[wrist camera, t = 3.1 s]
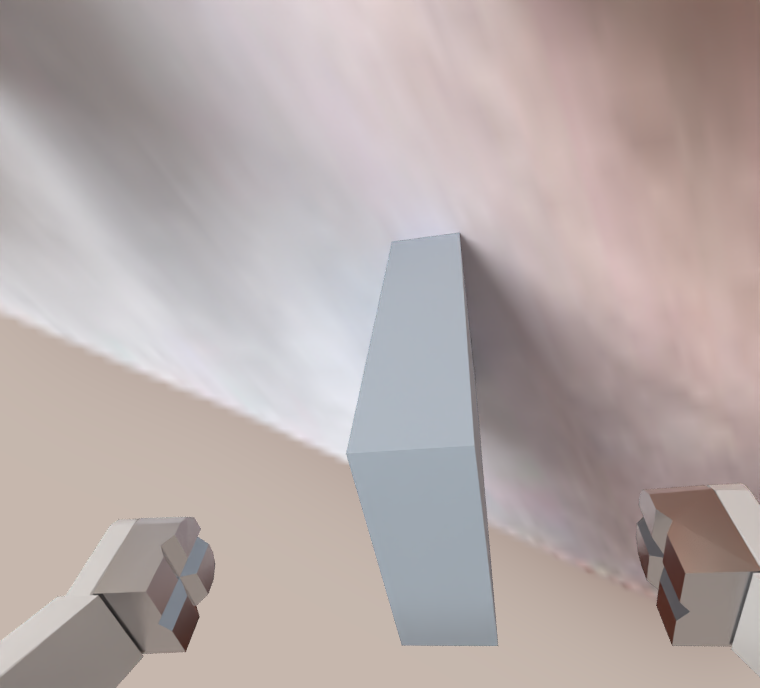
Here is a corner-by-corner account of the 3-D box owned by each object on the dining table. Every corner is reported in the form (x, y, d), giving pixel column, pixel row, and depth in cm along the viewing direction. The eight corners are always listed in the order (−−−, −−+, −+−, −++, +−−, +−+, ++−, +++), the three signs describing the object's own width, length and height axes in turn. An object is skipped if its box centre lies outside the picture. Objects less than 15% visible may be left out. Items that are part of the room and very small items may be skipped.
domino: (459, 233, 14) (475, 444, 7) (475, 384, 16) (497, 645, 10) (391, 241, 14) (346, 453, 8) (418, 389, 17) (402, 645, 10)
